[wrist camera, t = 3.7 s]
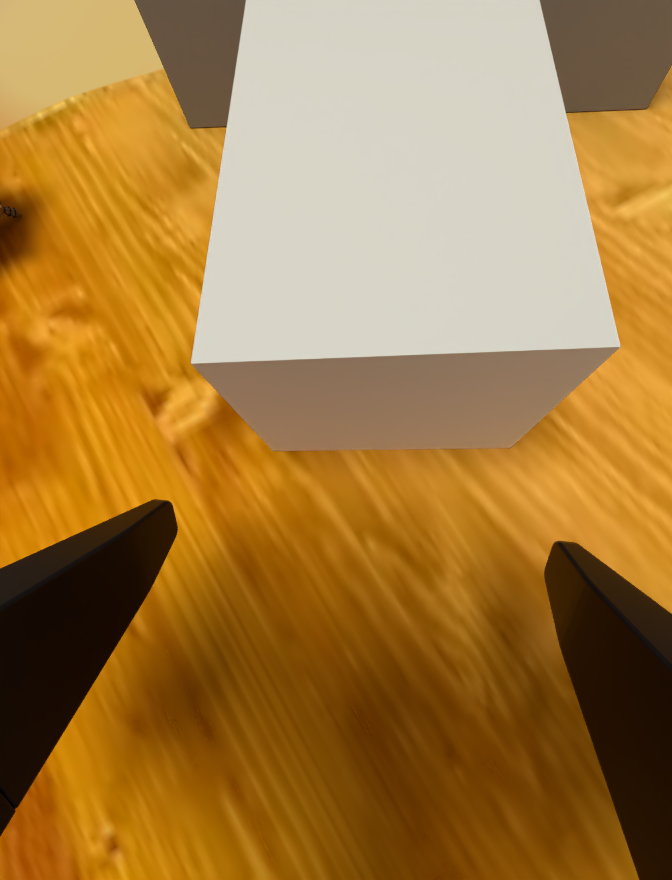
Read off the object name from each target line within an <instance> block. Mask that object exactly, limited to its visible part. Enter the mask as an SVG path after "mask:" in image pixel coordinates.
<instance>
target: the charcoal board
mask: <svg viewBox="0 0 672 880" xmlns="http://www.w3.org/2000/svg"><path fill="white" fill-rule="evenodd" d="M135 3H136V5H137V7H138V10H139V12H140V14H141V16H142V19H143V21H144V23H145V25H146V28H147V30H148V32H149V35H150V37H151V39H152V42H153V44H154V46H155V49H156V51H157V53H158V55H159V58H160V60H161V62H162V65H163V67H164V69H165V71H166V74H167V76H168V78H169V81H170V83H171V85H172V88H173V90H174V92H175V94H176V97H177V99H178V101H179V104H180V106H181V108H182V110H183V113H184V115H185V117H186V120H187V122H188V124H189V127H190V128H199V127H223V126H227V122H228V116H229V109H230V103H231V96H232V89H233V83H234V76H235V70H236V63H237V56H238V50H239V43H240V36H241V30H242V23H243V17H244V10H245V3H246V0H135ZM540 4H541V9H542V13H543V17H544V22H545V26H546V30H547V34H548V39H549V43H550V47H551V51H552V56H553V60H554V64H555V69H556V73H557V77H558V81H559V86H560V90H561V94H562V99H563V103H564V107H565V111H566V112H580V111H604V110H628V109H647V107H648V106H649V104H650V102H651V100H652V99H653V97H654V95H655V93H656V92H657V90H658V88H659V87H660V85H661V83H662V81H663V80H664V78H665V76H666V74H667V73H668V71H669V69H670V68H671V66H672V0H540Z"/></svg>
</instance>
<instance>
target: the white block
mask: <svg viewBox="0 0 672 880" xmlns="http://www.w3.org/2000/svg"><path fill="white" fill-rule="evenodd" d="M620 347H621V346H620V342H619V338H618V334H617V329H616V325H615V321H614V317H613V312H612V308H611V304H610V299H609V295H608V291H607V287H606V282H605V278H604V274H603V270H602V265H601V261H600V257H599V252H598V248H597V244H596V240H595V235H594V231H593V227H592V222H591V218H590V214H589V210H588V205H587V201H586V197H585V193H584V188H583V184H582V180H581V175H580V171H579V167H578V163H577V158H576V154H575V150H574V146H573V141H572V137H571V133H570V128H569V124H568V120H567V116H566V111H565V107H564V103H563V99H562V94H561V90H560V86H559V81H558V77H557V73H556V69H555V64H554V60H553V56H552V51H551V47H550V43H549V39H548V34H547V30H546V26H545V22H544V17H543V13H542V9H541V4H540V0H246V3H245V10H244V17H243V23H242V30H241V36H240V43H239V50H238V56H237V63H236V70H235V76H234V83H233V89H232V96H231V103H230V109H229V116H228V122H227V129H226V136H225V142H224V149H223V155H222V162H221V169H220V175H219V182H218V189H217V195H216V202H215V208H214V215H213V222H212V228H211V235H210V241H209V248H208V255H207V261H206V268H205V274H204V281H203V288H202V294H201V301H200V307H199V314H198V321H197V327H196V334H195V341H194V347H193V354H192V360H191V364H192V365H193V366H194V367H195V368H196V369H197V371H198V372H199V373H200V374H201V375H202V376H203V377H204V378H205V379H206V380H207V381H208V382H209V383H210V384H211V385H212V386H213V388H214V389H215V390H216V391H217V392H218V393H219V394H220V395H221V396H222V397H223V398H224V399H225V400H226V401H227V402H228V404H229V405H230V406H231V407H232V408H233V409H234V410H235V411H236V412H237V413H238V414H239V415H240V416H241V417H242V418H243V419H244V421H245V422H246V423H247V424H248V425H249V426H250V427H251V428H252V429H253V430H254V431H255V432H256V433H257V434H258V435H259V437H260V438H261V439H262V440H263V441H264V442H265V443H266V444H267V445H268V446H269V447H270V448H271V449H272V450H273V451H317V450H399V449H481V448H511V447H512V446H513V445H514V444H515V443H517V442H518V441H519V440H520V439H521V438H522V437H523V436H524V435H525V434H526V433H527V432H528V431H530V430H531V429H532V428H533V427H534V426H535V425H536V424H537V423H538V422H539V421H540V420H542V419H543V418H544V417H545V416H546V415H547V414H548V413H549V412H550V411H551V410H552V409H554V408H555V407H556V406H557V405H558V404H559V403H560V402H561V401H562V400H563V399H564V398H565V397H567V396H568V395H569V394H570V393H571V392H572V391H573V390H574V389H575V388H576V387H577V386H579V385H580V384H581V383H582V382H583V381H584V380H585V379H586V378H587V377H588V376H589V375H590V374H592V373H593V372H594V371H595V370H596V369H597V368H598V367H599V366H600V365H601V364H602V363H604V362H605V361H606V360H607V359H608V358H609V357H610V356H611V355H612V354H613V353H614V352H616V351H617V350H618V349H619V348H620Z"/></svg>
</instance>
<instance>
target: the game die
mask: <svg viewBox="0 0 672 880" xmlns="http://www.w3.org/2000/svg"><path fill="white" fill-rule="evenodd" d="M3 213H5V214H7V215H8V216H12V217H13V218H15V217H17V216H21V214H20V213H19V212H18V211H16V210H15V208H14V207H13V208H10V207H9V206H8V207H3V206H2V204H1V202H0V217H1V216H2V214H3Z"/></svg>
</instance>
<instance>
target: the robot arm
mask: <svg viewBox="0 0 672 880" xmlns="http://www.w3.org/2000/svg"><path fill="white" fill-rule="evenodd" d="M177 530H178V527H177V522H176V518H175V513H174V509H173V505H172V503H171V502H170V501H167V500H157V499H155V500H151V501H149V502H147V503H145V504H142V505H140V506H138V507H136V508H134V509H131V510H129V511H127V512H125V513H122V514H120V515H118V516H116V517H114V518H111V519H109V520H107V521H105V522H102V523H100V524H98V525H96V526H94V527H91V528H89V529H87V530H85V531H83V532H80V533H78V534H76V535H74V536H71V537H69V538H67V539H65V540H63V541H60V542H58V543H56V544H54V545H52V546H49V547H47V548H45V549H43V550H40V551H38V552H36V553H34V554H32V555H29V556H27V557H25V558H23V559H21V560H18V561H16V562H14V563H12V564H9V565H7V566H5V567H3V568H1V569H0V836H1V835H2V833H3V831H4V830H5V828H6V826H7V825H8V823H9V822H10V820H11V818H12V817H13V815H14V813H15V811H16V810H15V809H16V808H17V807H18V806H19V805H20V803H21V801H22V800H23V798H24V796H25V795H26V793H27V791H28V790H29V788H30V787H31V785H32V783H33V782H34V780H35V778H36V777H37V775H38V773H39V772H40V770H41V769H42V767H43V765H44V764H45V762H46V760H47V759H48V757H49V755H50V754H51V752H52V751H53V749H54V747H55V746H56V744H57V742H58V741H59V739H60V737H61V736H62V734H63V732H64V731H65V729H66V728H67V726H68V724H69V723H70V721H71V719H72V718H73V716H74V714H75V713H76V711H77V710H78V708H79V706H80V705H81V703H82V701H83V700H84V698H85V696H86V695H87V693H88V692H89V690H90V688H91V687H92V685H93V683H94V682H95V680H96V678H97V677H98V675H99V673H100V672H101V670H102V669H103V667H104V665H105V664H106V662H107V660H108V659H109V657H110V655H111V654H112V652H113V651H114V649H115V647H116V646H117V644H118V642H119V641H120V639H121V637H122V636H123V634H124V633H125V631H126V629H127V628H128V626H129V624H130V623H131V621H132V619H133V618H134V616H135V614H136V613H137V611H138V610H139V608H140V606H141V605H142V603H143V601H144V600H145V598H146V596H147V595H148V593H149V591H150V589H151V587H152V585H153V583H154V582H155V580H156V577H157V575H158V573H159V571H160V569H161V567H162V565H163V563H164V561H165V559H166V557H167V554H168V552H169V550H170V548H171V546H172V544H173V542H174V540H175V538H176V535H177ZM544 577H545V583H546V587H547V592H548V596H549V601H550V605H551V610H552V614H553V619H554V623H555V628H556V632H557V637H558V641H559V645H560V648H561V651H562V655H563V658H564V661H565V664H566V667H567V670H568V673H569V675H570V678H571V681H572V684H573V687H574V690H575V693H576V696H577V699H578V702H579V705H580V708H581V710H582V713H583V716H584V719H585V722H586V725H587V728H588V731H589V734H590V737H591V740H592V743H593V746H594V748H595V751H596V754H597V757H598V760H599V763H600V766H601V769H602V772H603V775H604V778H605V781H606V783H607V786H608V789H609V792H610V795H611V798H612V801H613V804H614V807H615V810H616V813H617V816H618V818H619V821H620V824H621V827H622V830H623V833H624V836H625V839H626V842H627V845H628V848H629V851H630V854H631V856H632V859H633V862H634V865H635V868H636V871H637V874H638V877H639V880H672V614H671V613H670V612H668V611H667V610H666V609H664V608H663V607H662V606H660V605H659V604H658V603H656V602H655V601H654V600H652V599H651V598H650V597H648V596H647V595H646V594H644V593H643V592H642V591H640V590H639V589H638V588H636V587H635V586H634V585H632V584H631V583H630V582H628V581H627V580H626V579H624V578H623V577H622V576H620V575H619V574H618V573H616V572H615V571H614V570H612V569H611V568H610V567H608V566H607V565H606V564H604V563H603V562H602V561H600V560H599V559H598V558H596V557H595V556H594V555H592V554H591V553H590V552H588V551H587V550H586V549H584V548H583V547H582V546H580V545H579V544H577V543H574V542H566V541H556V542H555V543H554V544H553V546H552V548H551V551H550V554H549V557H548V560H547V563H546V566H545V571H544Z"/></svg>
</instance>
